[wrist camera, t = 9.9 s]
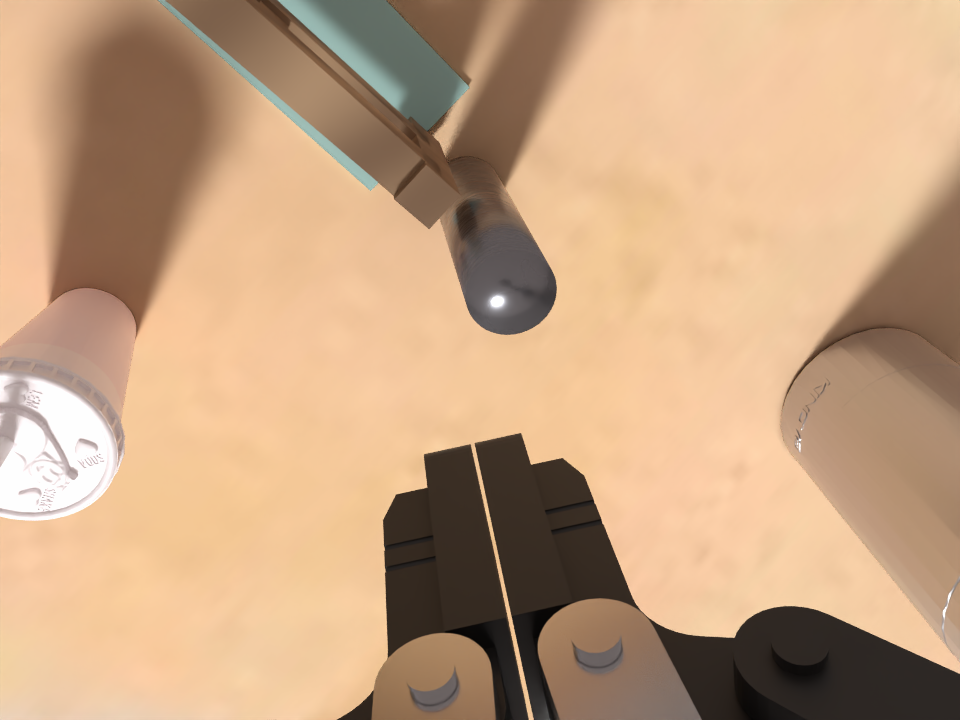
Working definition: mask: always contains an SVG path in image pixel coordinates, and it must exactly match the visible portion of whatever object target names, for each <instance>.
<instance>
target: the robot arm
mask: <svg viewBox="0 0 960 720" xmlns="http://www.w3.org/2000/svg"><path fill="white" fill-rule="evenodd" d="M781 431H782V436H783V441H784V442H785V444H786V446H787V448H788V450H789V452H790V453H791V455H792V456H793V457H794V458H795V459H796V461H797V462H798V463H799V464H800V466H801V467H802V468H803V469H804V471H805V472H806V473H807V474H808V476H809V477H810V478H811V479H812V480H813V482H814V483H815V484H816V485H817V487H818V488H819V489H820V490H821V492H822V493H823V494H824V496H825V497H826V498H827V499H828V501H829V502H830V503H831V504H832V506H833V507H834V508H835V509H836V511H837V512H838V513H839V514H840V515H841V517H842V518H843V519H844V520H845V522H846V523H847V524H848V525H849V527H850V528H851V529H852V530H853V532H854V533H855V534H856V535H857V536H858V538H859V539H860V540H861V541H862V543H863V544H864V545H865V546H866V548H867V549H868V550H869V551H870V553H871V554H872V555H873V556H874V557H875V559H876V560H877V561H878V562H879V564H880V565H881V566H882V567H883V569H884V570H885V571H886V572H887V574H888V575H889V576H890V577H891V578H892V580H893V581H894V582H895V583H896V585H897V586H898V587H899V588H900V590H901V591H902V592H903V593H904V595H905V596H906V597H907V598H908V599H909V601H910V602H911V603H912V604H913V606H914V607H915V608H916V609H917V611H918V612H919V613H920V614H921V616H922V617H923V618H924V619H925V620H926V622H927V623H928V624H929V625H930V627H931V628H932V629H933V630H934V632H935V633H936V634H937V635H938V637H939V638H940V639H941V640H942V641H943V643H944V644H945V645H946V646H947V648H948V649H949V650H950V651H951V653H952V654H953V655H954V656H955V657H956V658H957V660H958V661H959V662H960V365H959V364H958V363H957V362H954V361H953V360H952V359H950V358H949V357H948V356H946V355H945V354H944V353H942V352H941V351H940V350H938V349H937V348H936V347H934V346H933V345H932V344H930V343H929V342H928V341H926V340H925V339H924V338H922V337H921V336H920V335H917V334H915V333H912V332H910V331H907V330H903V329H895V328H880V329H871V330H867V331H863V332H860V333H856V334H853V335H851V336H849V337H846V338H844V339H842V340H840V341H838V342H836V343H834V344H833V345H831V346H830V347H828V348H827V349H825V350H824V351H822V352H821V353H820V354H818V355H817V356H816V357H815V358H814V359H813V360H812V361H811V362H810V363H809V364H808V365H807V366H806V367H805V368H804V369H803V371H802V372H801V373H800V374H799V376H798V377H797V378H796V380H795V381H794V383H793V385H792V386H791V388H790V390H789V392H788V394H787V396H786V399H785V402H784V406H783V409H782V414H781ZM475 447H476V452H477V456H478V461H479V466H480V470H481V475H482V480H483V485H484V489H485V494H486V499H487V503H488V508H489V513H490V517H491V522H492V527H493V531H494V536H495V541H496V545H497V550H498V555H499V559H500V564H501V569H502V573H503V578H504V583H505V587H506V592H507V597H508V601H509V606H510V611H511V615H512V620H513V625H514V629H515V634H516V639H517V643H518V648H519V653H520V657H521V662H522V667H523V671H524V676H525V680H526V685H527V690H528V694H529V699H530V704H531V708H532V713H533V718H534V720H960V674H958V673H956V672H954V671H952V670H950V669H947V668H945V667H943V666H941V665H939V664H936V663H934V662H932V661H930V660H928V659H925V658H923V657H921V656H919V655H917V654H914V653H912V652H910V651H908V650H906V649H903V648H901V647H899V646H897V645H895V644H892V643H890V642H888V641H886V640H883V639H881V638H879V637H877V636H875V635H872V634H870V633H868V632H866V631H864V630H861V629H859V628H857V627H855V626H853V625H850V624H848V623H846V622H844V621H842V620H839V619H837V618H835V617H833V616H831V615H828V614H826V613H823V612H820V611H818V610H814V609H810V608H804V607H796V606H784V607H776V608H771V609H767V610H764V611H762V612H759V613H757V614H755V615H754V616H752V617H751V618H749V619H748V620H747V621H746V622H745V623H744V624H743V625H742V626H741V627H740V629H739V630H738V632H737V633H736V636H735V638H724V637H705V636H693V635H686V634H682V633H678V632H675V631H672V630H669V629H666V628H664V627H662V626H660V625H658V624H657V623H655V622H654V621H652V620H651V619H649V618H648V617H647V616H646V615H645V614H644V613H643V612H642V611H641V610H640V609H639V608H638V606H637V605H636V604H635V602H634V600H633V598H632V596H631V593H630V591H629V588H628V585H627V583H626V580H625V578H624V575H623V573H622V570H621V568H620V565H619V563H618V560H617V558H616V555H615V553H614V550H613V548H612V545H611V542H610V540H609V537H608V535H607V532H606V530H605V527H604V525H603V524H602V521H601V517H600V515H599V512H598V510H597V507H596V505H595V504H594V499H593V497H592V494H591V492H590V489H589V487H588V484H587V482H586V479H585V477H584V475H583V474H581V473H580V472H579V471H578V470H576V469H575V468H574V467H573V466H571V465H570V464H569V463H568V462H567V461H565V460H564V459H563V458H561V459H556V460H551V461H547V462H542V463H538V464H533V465H531V464H530V460H529V457H528V454H527V451H526V447H525V444H524V441H523V438H522V435H521V433H519V434H515V435H510V436H505V437H501V438H496V439H492V440H487V441H482V442H478V443H475ZM424 461H425V470H426V478H427V487H428V488H424V489H420V490H415V491H411V492H406V493H401V494H397V495H396V496H395V498H394V500H393V502H392V504H391V506H390V508H389V510H388V512H387V514H386V516H385V518H384V520H383V528H384V547H385V551H384V555H385V569H386V572H385V582H386V609H387V636H388V659H387V660H386V662H385V663H384V664H383V666H382V667H381V669H380V671H379V673H378V675H377V678H376V681H375V686H374V690H373V691H372V693H371V694H370V695H369V696H368V697H367V698H366V699H365V700H364V701H363V702H362V703H361V704H360V705H359V706H357V707H356V708H355V709H354V710H352V711H351V712H349V713H348V714H346V715H344V716H343V717H341V718H339V719H337V720H529V718H528V713H527V709H526V704H525V699H524V694H523V689H522V685H521V680H520V675H519V670H518V665H517V660H516V656H515V651H514V646H513V641H512V636H511V632H510V627H509V622H508V617H507V612H506V607H505V603H504V598H503V593H502V588H501V583H500V579H499V574H498V569H497V564H496V559H495V555H494V550H493V545H492V540H491V536H490V531H489V527H488V522H487V517H486V513H485V508H484V504H483V499H482V494H481V490H480V485H479V481H478V476H477V472H476V467H475V462H474V458H473V453H472V449H471V444H470V445H465V446H460V447H456V448H451V449H447V450H442V451H437V452H433V453H428V454H424Z"/></svg>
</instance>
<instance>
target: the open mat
mask: <svg viewBox="0 0 960 720" xmlns="http://www.w3.org/2000/svg"><path fill="white" fill-rule="evenodd" d="M158 1H159V2H160V3H161V4H162V5H163V6H165V7H166V8H167V9H168V10H169V11H170V12H171V13H172V14H174V15H175V16H176V17H177V18H178V19H179V20H180V21H181V22H182V23H184V24H185V25H186V26H187V27H188V28H189V29H190V30H191V31H193V32H194V33H195V34H196V35H197V36H198V37H199V38H200V39H201V40H203V41H204V42H205V43H206V44H207V45H208V46H209V47H210V48H212V49H213V50H214V51H215V52H216V53H217V54H218V55H219V56H220V57H222V58H223V59H224V60H225V61H226V62H227V63H228V64H229V65H231V66H232V67H233V68H234V69H235V70H236V71H237V72H238V73H239V74H241V75H242V76H243V77H244V78H245V79H246V80H247V81H248V82H249V83H251V84H252V85H253V86H254V87H255V88H256V89H257V90H258V91H260V92H261V93H262V94H263V95H264V96H265V97H266V98H267V99H268V100H270V101H271V102H272V103H273V104H274V105H275V106H276V107H277V108H279V109H280V110H281V111H282V112H283V113H284V114H285V115H286V116H287V117H289V118H290V119H291V120H292V121H293V122H294V123H295V124H296V125H298V126H299V127H300V128H301V129H302V130H303V131H304V132H305V133H306V134H308V135H309V136H310V137H311V138H312V139H313V140H314V141H315V142H317V143H318V144H319V145H320V146H321V147H322V148H323V149H324V150H325V151H327V152H328V153H329V154H330V155H331V156H332V157H333V158H334V159H336V160H337V161H338V162H339V163H340V164H341V165H342V166H343V167H344V168H346V169H347V170H348V171H349V172H350V173H351V174H352V175H353V176H354V177H356V178H357V179H358V180H359V181H360V182H361V183H362V184H363V185H365V186H366V187H367V188H368V189H369V190H370V191H371V190H372V189H373V188H374V187H375V186H376V185H377V184H378V182H377V181H376V180H375V179H374V178H372V177H371V176H370V175H369V174H368V173H367V172H365V171H364V170H363V169H362V168H361V167H360V166H358V165H357V164H356V163H355V162H354V161H353V160H351V159H350V158H349V157H348V156H347V155H345V154H344V153H343V152H342V151H341V150H340V149H338V148H337V147H336V146H335V145H334V144H333V143H331V142H330V141H329V140H328V139H327V138H326V137H324V136H323V135H322V134H321V133H320V132H319V131H317V130H316V129H315V128H314V127H313V126H312V125H310V124H309V123H308V122H307V121H306V120H305V119H303V118H302V117H301V116H300V115H299V114H298V113H296V112H295V111H294V110H293V109H292V108H291V107H289V106H288V105H287V104H286V103H285V102H284V101H282V100H281V99H280V98H279V97H278V96H277V95H275V94H274V93H273V92H272V91H271V90H270V89H268V88H267V87H266V86H265V85H264V84H262V83H261V82H260V81H259V80H258V79H257V78H255V77H254V76H253V75H252V74H251V73H250V72H248V71H247V70H246V69H245V68H244V67H243V66H241V65H240V64H239V63H238V62H237V61H236V60H234V59H233V58H232V57H231V56H230V55H229V54H227V53H226V52H225V51H224V50H223V49H222V48H220V47H219V46H218V45H217V44H216V43H215V42H213V41H212V40H211V39H210V38H209V37H208V36H206V35H205V34H204V33H203V32H202V31H201V30H199V29H198V28H197V27H196V26H195V25H194V24H192V23H191V22H190V21H189V20H188V19H187V18H185V17H184V16H183V15H182V14H181V13H180V12H178V11H177V10H176V9H175V8H174V7H172V6H171V5H170V4H169V3H168V2H167V1H165V0H158ZM278 1H279V2H280V3H281V4H282V5H283V6H284V7H285V8H286V9H288V10H289V11H290V12H291V13H292V14H293V15H294V16H295V17H296V18H297V19H298V20H300V21H301V22H302V23H303V24H304V25H305V26H306V27H307V28H308V29H309V30H310V31H312V32H313V33H314V34H315V35H316V36H317V37H318V38H319V39H320V40H321V41H322V42H324V43H325V44H326V45H327V46H328V47H329V48H330V49H331V50H332V51H333V52H334V53H336V54H337V55H338V56H339V57H340V58H341V59H342V60H343V61H344V62H345V63H346V64H348V65H349V66H350V67H351V68H352V69H353V70H354V71H355V72H356V73H357V74H359V75H360V76H361V77H362V78H363V79H364V80H365V81H366V82H367V83H368V84H369V85H371V86H372V87H373V88H374V89H375V90H376V91H377V92H378V93H379V94H380V95H381V96H383V97H384V98H385V99H386V100H387V101H388V102H389V103H390V104H391V105H392V106H393V107H395V108H396V109H397V110H398V111H399V112H400V113H401V114H402V115H403V116H404V117H405V118H407V119H409V117H410V116H411V117H412V118H413V119H414V120H415V121H416V122H418V123H419V124H420V125H421V126H422V127H423V128H424V129H425V130H426V131H428V130H429V129H430V128H431V127H432V126H433V125H434V124H435V123H436V122H437V121H438V120H439V119H440V118H441V117H442V116H443V115H444V114H445V113H446V112H447V110H448V109H449V108H450V107H451V106H452V105H453V104H454V103H455V102H456V101H457V100H458V99H459V98H460V97H461V96H462V95H463V94H464V93H465V92H466V91H467V90H468V88H469V86H468V85H467V84H466V83H465V82H464V81H463V80H462V79H461V78H460V77H459V76H458V75H457V73H456V72H455V71H454V70H453V69H452V68H451V67H450V66H449V65H448V64H447V63H446V62H445V61H444V60H443V59H442V58H441V57H440V56H439V55H438V54H437V53H436V52H435V51H434V50H433V49H432V48H431V46H430V45H429V44H428V43H427V42H426V41H425V40H424V39H423V38H422V37H421V36H420V35H419V34H418V33H417V32H416V31H415V30H414V29H413V28H412V27H411V26H410V25H409V24H408V23H407V22H406V21H405V19H404V18H403V17H402V16H401V15H400V14H399V13H398V12H397V11H396V10H395V9H394V8H393V7H392V6H391V5H390V4H389V3H388V2H387V1H386V0H278Z"/></svg>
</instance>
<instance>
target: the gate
mask: <svg viewBox="0 0 960 720" xmlns="http://www.w3.org/2000/svg"><path fill="white" fill-rule="evenodd" d="M165 1H167V2H168V3H169V4H170V5H171V6H172V7H174V8H175V9H176V10H177V11H178V12H180V13H181V14H182V15H183V16H184V17H185V18H187V19H188V20H189V21H190V22H191V23H192V24H194V25H195V26H196V27H197V28H198V29H199V30H201V31H202V32H203V33H204V34H205V35H206V36H208V37H209V38H210V39H211V40H212V41H213V42H215V43H216V44H217V45H218V46H219V47H220V48H222V49H223V50H224V51H225V52H226V53H227V54H229V55H230V56H231V57H232V58H233V59H234V60H236V61H237V62H238V63H239V64H240V65H241V66H243V67H244V68H245V69H246V70H247V71H248V72H250V73H251V74H252V75H253V76H254V77H255V78H257V79H258V80H259V81H260V82H261V83H262V84H264V85H265V86H266V87H267V88H268V89H270V90H271V91H272V92H273V93H274V94H275V95H277V96H278V97H279V98H280V99H281V100H282V101H284V102H285V103H286V104H287V105H288V106H289V107H291V108H292V109H293V110H294V111H295V112H296V113H298V114H299V115H300V116H301V117H302V118H303V119H305V120H306V121H307V122H308V123H309V124H310V125H312V126H313V127H314V128H315V129H316V130H317V131H319V132H320V133H321V134H322V135H323V136H324V137H326V138H327V139H328V140H329V141H330V142H331V143H333V144H334V145H335V146H336V147H337V148H338V149H340V150H341V151H342V152H343V153H344V154H345V155H347V156H348V157H349V158H350V159H351V160H353V161H354V162H355V163H356V164H357V165H358V166H360V167H361V168H362V169H363V170H364V171H365V172H367V173H368V174H369V175H370V176H371V177H372V178H374V179H375V180H376V181H377V182H378V183H379V184H381V185H382V186H383V187H384V188H385V189H386V190H388V191H389V192H390V193H391V194H392V195H393V196H394V200H396V201H397V202H398V203H399V204H400V205H402V206H403V207H404V208H405V209H406V210H407V211H409V212H410V213H411V214H412V215H413V216H414V217H416V218H417V219H418V220H419V221H420V222H421V223H423V224H424V225H425V226H426V227H427V228H428V229H430V228H431V227H432V225H433V224H434V223H435V222H436V221H437V220H438V219H439V218H440V217H441V216H442V215H443V214H444V213H445V212H446V211H447V210H448V208H449V207H450V206H451V205H452V204H453V203H454V202H455V201H456V200H457V199H458V198H459V197H460V196H461V195H460V193H459V190H458V188H457V185H456V183H455V180H454V178H453V175H452V173H451V170H450V168H449V165H448V163H447V161H446V158H445V156H444V153H443V151H442V148H441V146H440V143H439V142H438V141H437V140H436V139H435V138H434V137H433V136H432V135H431V134H429V133H428V132H427V131H426V130H425V129H424V128H423V127H422V126H421V125H420V124H419V123H418V122H416V121H415V120H414V119H413V118H412V117H411V116H410V117H409V119H407V118H405V117H404V116H403V115H402V114H401V113H400V112H399V111H398V110H397V109H396V108H395V107H393V106H392V105H391V104H390V103H389V102H388V101H387V100H386V99H385V98H384V97H383V96H381V95H380V94H379V93H378V92H377V91H376V90H375V89H374V88H373V87H372V86H371V85H369V84H368V83H367V82H366V81H365V80H364V79H363V78H362V77H361V76H360V75H359V74H357V73H356V72H355V71H354V70H353V69H352V68H351V67H350V66H349V65H348V64H346V63H345V62H344V61H343V60H342V59H341V58H340V57H339V56H338V55H337V54H336V53H334V52H333V51H332V50H331V49H330V48H329V47H328V46H327V45H326V44H325V43H324V42H322V41H321V40H320V39H319V38H318V37H317V36H316V35H315V34H314V33H313V32H312V31H310V30H309V29H308V28H307V27H306V26H305V25H304V24H303V23H302V22H301V21H300V20H298V19H297V18H296V17H295V16H294V15H293V14H292V13H291V12H290V11H289V10H288V9H286V8H285V7H284V6H283V5H282V4H281V3H280V2H279V1H278V0H165Z"/></svg>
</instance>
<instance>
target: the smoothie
mask: <svg viewBox="0 0 960 720" xmlns="http://www.w3.org/2000/svg"><path fill="white" fill-rule="evenodd" d="M135 338H136V323H135V320H134V317H133V315H132V313H131V311H130V310H129V309H128V307H127V306H126V305H125V304H124V303H123V302H122V301H121V300H119V299H118V298H117V297H115V296H113V295H112V294H110V293H107V292H105V291H102V290H98V289H93V288H79V289H74V290H71V291H68V292H66V293H64V294H62V295H61V296H59V297H58V298H57V299H56V300H55V301H53V302H52V303H51V304H50V305H49V306H47V307H46V308H45V309H44V310H43V311H42V312H40V313H39V314H38V315H37V316H36V317H34V318H33V319H32V320H31V321H30V322H29V323H27V324H26V325H25V326H24V327H23V328H21V329H20V330H19V331H18V332H17V333H15V334H14V335H13V336H12V337H11V338H10V339H8V340H7V341H6V342H5V343H4V344H2V345H1V346H0V516H1V517H6V518H11V519H17V520H48V519H55V518H59V517H63V516H67V515H70V514H73V513H75V512H78V511H80V510H82V509H84V508H86V507H87V506H89V505H90V504H92V503H93V502H94V501H96V500H97V499H98V498H99V497H100V496H101V495H102V494H103V493H104V492H105V491H106V489H107V488H108V486H109V485H110V483H111V481H112V479H113V477H114V475H115V474H116V473H117V471H118V469H119V466H120V464H121V461H122V459H123V456H124V447H125V434H124V431H123V427H122V424H121V418H122V410H123V405H124V399H125V394H126V388H127V382H128V377H129V371H130V366H131V360H132V354H133V349H134V343H135Z"/></svg>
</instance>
